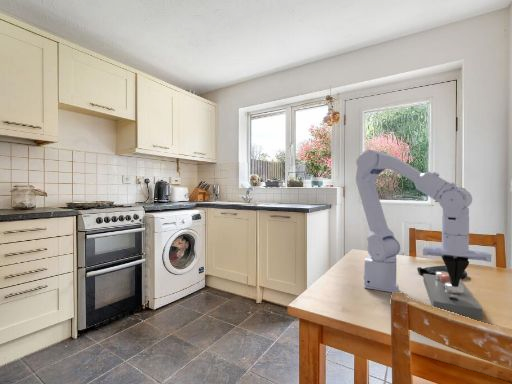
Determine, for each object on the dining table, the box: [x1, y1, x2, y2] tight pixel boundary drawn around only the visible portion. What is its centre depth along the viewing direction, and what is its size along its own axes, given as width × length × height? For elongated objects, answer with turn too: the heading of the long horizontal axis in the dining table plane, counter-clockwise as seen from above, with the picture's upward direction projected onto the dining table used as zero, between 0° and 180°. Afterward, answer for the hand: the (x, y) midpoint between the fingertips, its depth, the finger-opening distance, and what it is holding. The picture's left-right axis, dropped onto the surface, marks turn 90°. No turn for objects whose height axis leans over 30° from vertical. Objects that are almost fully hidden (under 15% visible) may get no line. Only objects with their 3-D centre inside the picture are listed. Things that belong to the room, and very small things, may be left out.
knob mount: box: [422, 273, 483, 320], centre depth 78 cm, size 10×24×2 cm, turn 153°
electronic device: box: [416, 265, 468, 280], centre depth 96 cm, size 9×6×15 cm
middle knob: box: [440, 273, 450, 284], centre depth 78 cm, size 4×4×4 cm
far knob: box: [435, 271, 448, 280], centre depth 85 cm, size 4×4×4 cm
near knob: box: [445, 282, 464, 301], centre depth 71 cm, size 4×4×4 cm
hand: (454, 284), depth 71 cm, fingers closed
